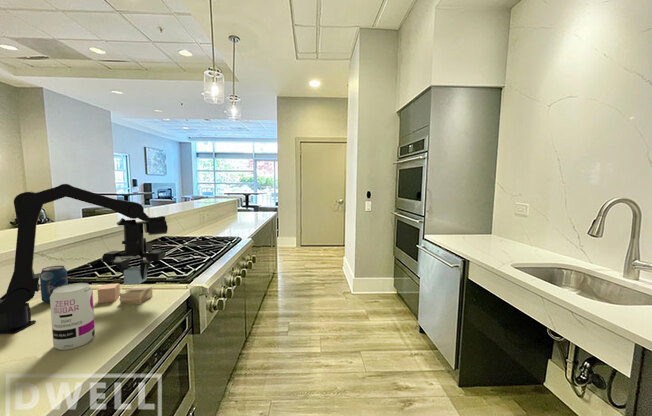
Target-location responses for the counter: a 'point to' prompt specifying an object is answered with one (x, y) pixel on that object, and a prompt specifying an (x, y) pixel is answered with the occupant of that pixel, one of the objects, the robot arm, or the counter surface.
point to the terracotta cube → (108, 293)
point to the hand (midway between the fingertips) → (135, 279)
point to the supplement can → (72, 315)
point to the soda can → (52, 281)
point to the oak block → (136, 295)
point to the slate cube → (133, 276)
